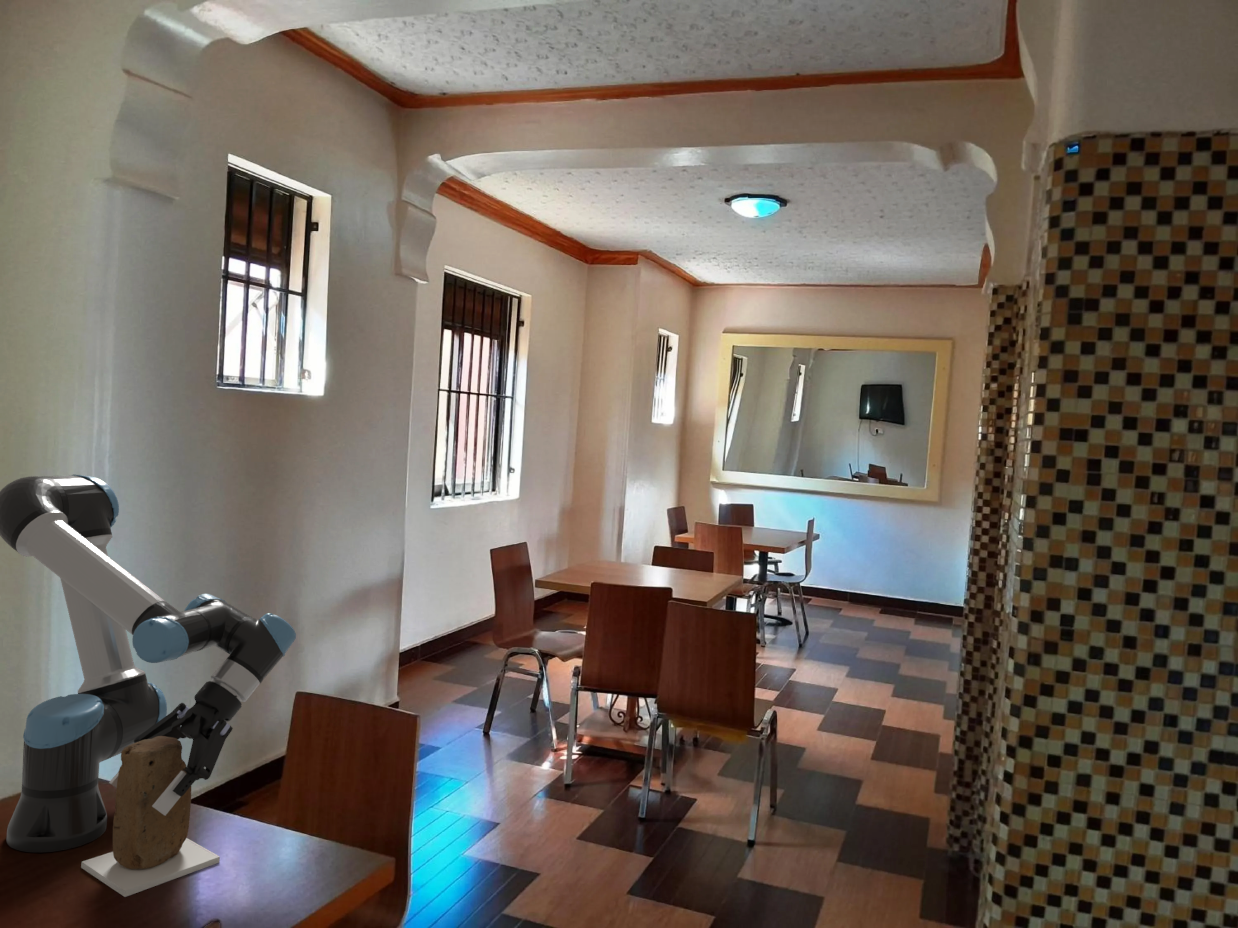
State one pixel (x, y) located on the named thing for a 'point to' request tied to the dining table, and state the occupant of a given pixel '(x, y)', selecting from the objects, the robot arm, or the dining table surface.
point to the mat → (149, 869)
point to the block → (149, 804)
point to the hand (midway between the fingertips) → (136, 798)
